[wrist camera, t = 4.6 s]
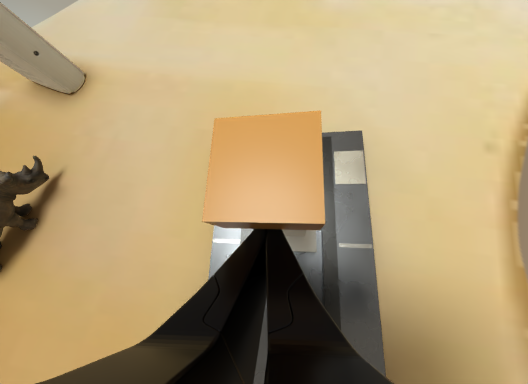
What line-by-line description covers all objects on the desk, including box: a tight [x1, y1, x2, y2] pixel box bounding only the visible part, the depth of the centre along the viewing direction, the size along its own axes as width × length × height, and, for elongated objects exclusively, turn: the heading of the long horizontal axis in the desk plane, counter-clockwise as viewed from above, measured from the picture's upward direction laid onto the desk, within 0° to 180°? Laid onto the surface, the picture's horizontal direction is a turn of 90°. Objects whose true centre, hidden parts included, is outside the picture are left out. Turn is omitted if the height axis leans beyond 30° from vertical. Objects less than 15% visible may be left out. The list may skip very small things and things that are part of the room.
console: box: [208, 131, 386, 384], centre depth 17 cm, size 22×13×2 cm, turn 177°
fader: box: [202, 111, 325, 252], centre depth 12 cm, size 5×4×11 cm
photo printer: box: [0, 2, 85, 94], centre depth 24 cm, size 10×4×12 cm, turn 65°
